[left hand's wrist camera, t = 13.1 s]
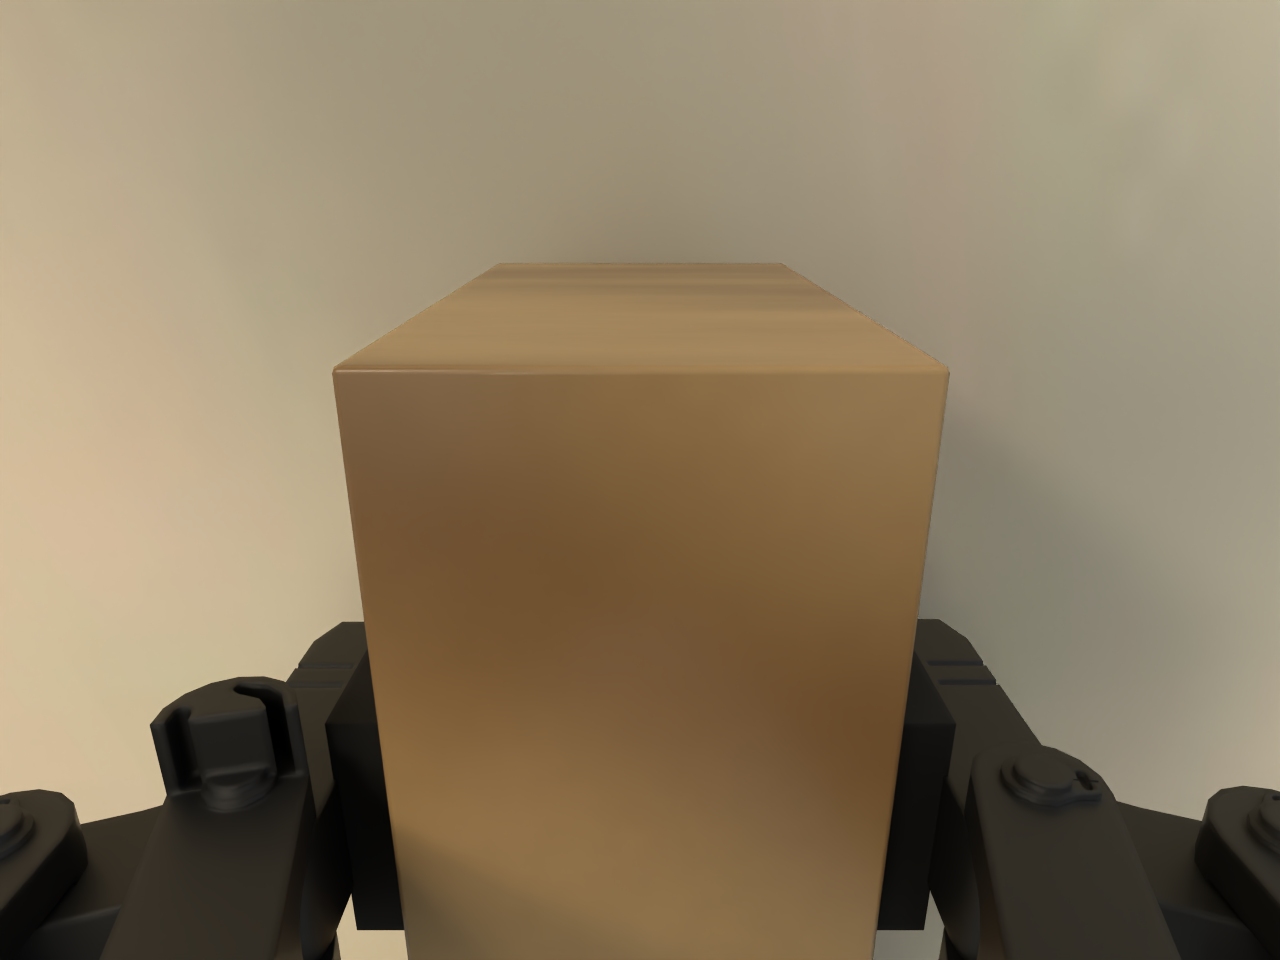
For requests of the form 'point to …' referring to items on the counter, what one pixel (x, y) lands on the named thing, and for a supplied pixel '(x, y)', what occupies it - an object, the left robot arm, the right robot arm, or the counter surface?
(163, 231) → the counter surface
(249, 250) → the counter surface
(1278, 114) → the counter surface
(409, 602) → the post
